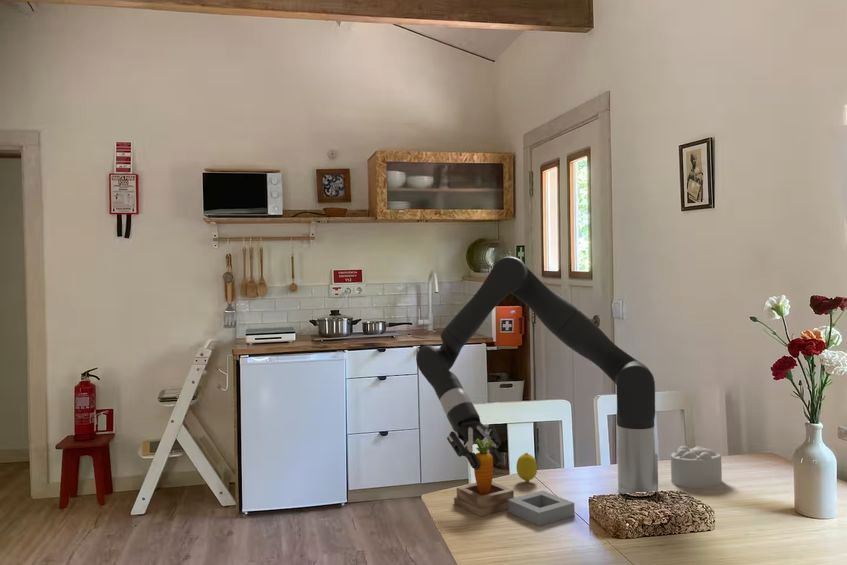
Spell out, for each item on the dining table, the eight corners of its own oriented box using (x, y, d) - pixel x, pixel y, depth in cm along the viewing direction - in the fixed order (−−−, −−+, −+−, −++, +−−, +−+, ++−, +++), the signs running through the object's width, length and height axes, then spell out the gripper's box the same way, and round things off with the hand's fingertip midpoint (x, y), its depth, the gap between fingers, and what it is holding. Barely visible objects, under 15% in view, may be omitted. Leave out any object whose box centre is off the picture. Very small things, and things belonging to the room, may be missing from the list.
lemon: (536, 479, 185) (535, 450, 185) (538, 485, 180) (537, 455, 180) (516, 479, 186) (515, 450, 186) (517, 485, 180) (516, 455, 180)
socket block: (542, 502, 167) (542, 490, 167) (574, 515, 157) (574, 502, 157) (508, 512, 161) (507, 499, 161) (539, 526, 151) (538, 512, 151)
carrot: (496, 496, 167) (494, 436, 167) (491, 503, 163) (490, 441, 162) (477, 494, 169) (475, 435, 169) (471, 501, 164) (470, 440, 164)
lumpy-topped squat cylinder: (727, 483, 178) (726, 450, 178) (690, 490, 173) (689, 457, 172) (697, 472, 187) (696, 441, 187) (661, 479, 182) (660, 447, 182)
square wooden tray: (489, 494, 173) (488, 479, 173) (516, 506, 164) (516, 490, 164) (454, 503, 168) (453, 487, 168) (480, 516, 158) (480, 499, 158)
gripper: (441, 404, 168) (470, 462, 158) (487, 397, 176) (518, 452, 166) (430, 421, 173) (458, 479, 163) (475, 414, 180) (505, 468, 170)
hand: (488, 465), depth 164 cm, fingers open, 6 cm apart
